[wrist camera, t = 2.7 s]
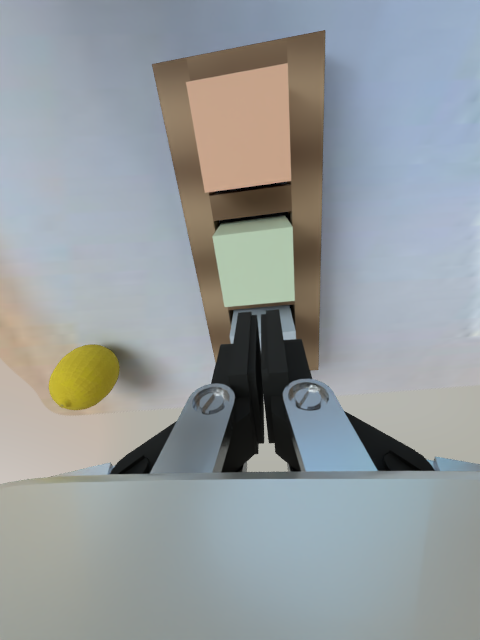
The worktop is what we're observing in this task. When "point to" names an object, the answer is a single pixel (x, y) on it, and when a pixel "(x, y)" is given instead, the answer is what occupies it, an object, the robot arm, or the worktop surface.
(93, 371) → the lemon
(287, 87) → the button terracotta
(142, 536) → the robot arm
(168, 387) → the worktop surface
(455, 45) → the worktop surface
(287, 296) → the button sage
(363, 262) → the worktop surface
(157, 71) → the button board
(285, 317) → the button slate
